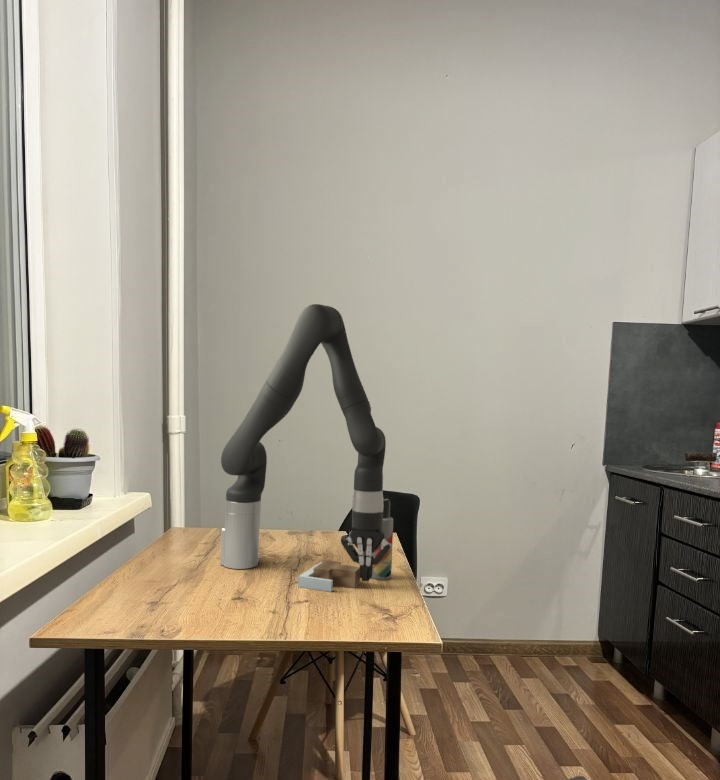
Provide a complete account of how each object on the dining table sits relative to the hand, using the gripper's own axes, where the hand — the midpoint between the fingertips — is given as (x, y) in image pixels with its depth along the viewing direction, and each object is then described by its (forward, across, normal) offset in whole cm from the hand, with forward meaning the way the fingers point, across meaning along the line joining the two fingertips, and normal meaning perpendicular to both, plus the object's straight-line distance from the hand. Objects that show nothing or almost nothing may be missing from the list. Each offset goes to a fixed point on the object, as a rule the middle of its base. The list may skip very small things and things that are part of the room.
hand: (365, 580), depth 140 cm
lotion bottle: (+2, +1, +10) cm, 10 cm away
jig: (+1, -11, 0) cm, 11 cm away
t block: (+2, -7, 0) cm, 7 cm away
